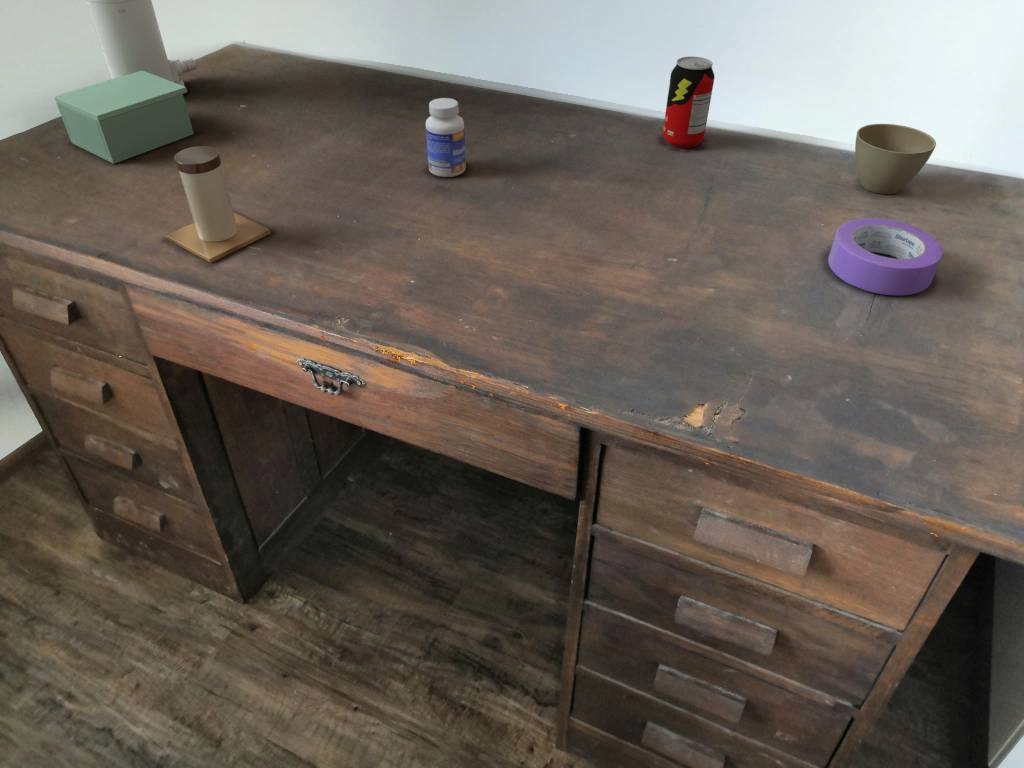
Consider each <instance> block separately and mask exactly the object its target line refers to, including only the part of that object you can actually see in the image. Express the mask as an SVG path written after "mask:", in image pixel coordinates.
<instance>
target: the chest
mask: <svg viewBox="0 0 1024 768" xmlns="http://www.w3.org/2000/svg"><path fill="white" fill-rule="evenodd" d="M55 103H56V105H57V109H58V111H59V113H60V116H61V119H62V122H63V124H64V127H65V129H66V132H67V135H68V137H69V140H70V142H71V144H72V145H74V146H77V147H79V148H81V149H82V150H85V151H86V152H89V153H91V154H93V155H96V156H97V157H99V158H101V159H103V160H104V161H107V162H108V163H111V164H113V165H115V164H118V163H120V162H123V161H125V160H128V159H130V158H134V157H136V156H138V155H141V154H142V155H143V154H144V153H147V152H150V151H153V150H155V149H158V148H161V147H163V146H167V145H169V144H171V143H174V142H177V141H180V140H182V139H186V138H187V137H190V136H193V135H194V134H195V133H194V129H193V126H192V123H191V118H190V115H189V112H188V108H187V104H186V100H185V97H184V93H183V94H180V95H177V96H174V97H171V98H168V99H165V100H162V101H159V102H156V103H153V104H150V105H147V106H144V107H141V108H138V109H135V110H132V111H129V112H126V113H123V114H119V115H116V116H113V117H110V118H107V119H104V120H101V121H97V120H95V119H93V118H91V117H88V116H86V115H84V114H82V113H80V112H77V111H75V110H73V109H71V108H69V107H66V106H64V105H62V104H60V103H58V102H56V101H55Z"/></svg>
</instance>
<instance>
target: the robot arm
mask: <svg viewBox="0 0 1024 768" xmlns="http://www.w3.org/2000/svg"><path fill="white" fill-rule="evenodd" d="M85 2H86V5H87V8H88V12H89V14H90V18H91V20H92V23H93V24H92V25H93V26H94V30H95V34H96V36H97V39H98V42H99V45H100V48H101V52H102V55H103V57H104V60H105V63H106V66H107V69H108V72H109V75H110V80H112V79H115V78H118V77H122V76H125V75H128V74H132V73H135V72H139V71H145V72H148V73H150V74H153V75H156V76H158V77H161V78H163V79H166V80H169V81H171V82H174V83H177V84H179V85H182V86H184V87H186V86H185V82H184V80H183V79H181V78H180V77H182V75H183V73H189V72H192V71H195V70H197V68H198V66H197V62H196V61H195V60H194V58H192V57H191V58H190V57H189V58H187V59H184V60H180V59H179V58H175V59H169V58H168V55H167V51H166V48H165V45H164V41H163V37H162V34H161V30H160V27H159V26H160V25H159V23H158V19H157V16H156V11H155V8H154V4H153V1H152V0H85Z"/></svg>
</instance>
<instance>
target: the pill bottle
mask: <svg viewBox="0 0 1024 768" xmlns="http://www.w3.org/2000/svg"><path fill="white" fill-rule="evenodd" d="M459 109H460V108H459V102H458V101H457V100H456V99H455V98H449V97H441V98H440V97H439V98H434V99H432V100H431V101H429V103H428V112H429V115H430V116H429V117H428V118H426V120H425V136H426V137H425V138H426V149H427V150H426V152H427V164H428V170H429V173H431V174H432V175H434V176H437V177H440V178H453V177H457V176H460V175H462V174H463V173H464V172H465V171H466V168H467V160H466V137H465V136H466V134H465V133H466V132H465V121H464V119H463V117H461V116H460V115H458V114H459V112H460V110H459Z"/></svg>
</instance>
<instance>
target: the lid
mask: <svg viewBox="0 0 1024 768" xmlns="http://www.w3.org/2000/svg"><path fill="white" fill-rule="evenodd" d="M186 93H188V89H187V87H186V86H185V87H184V86H182V85H179V84H177V83H174V82H171V81H169V80H166V79H163V78H161V77H158V76H156V75H153V74H150V73H148V72H145V71H139V72H135V73H132V74H128V75H125V76H122V77H118V78H115V79H108V80H105V81H101V82H98V83H95V84H91V85H89V86H84V87H81V88H78V89H75V90H72V91H68V92H64V93H62V94H57V95H54V97H53V99H54V100H55V103H56V102H58V103H60V104H62V105H64V106H66V107H69V108H71V109H73V110H75V111H77V112H80V113H82V114H84V115H86V116H88V117H91V118H93V119H95V120H97V121H101V120H104V119H107V118H110V117H113V116H116V115H119V114H123V113H126V112H129V111H132V110H135V109H138V108H141V107H144V106H147V105H150V104H153V103H156V102H159V101H162V100H165V99H168V98H171V97H174V96H177V95H180V94H183V95H184V94H186Z"/></svg>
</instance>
